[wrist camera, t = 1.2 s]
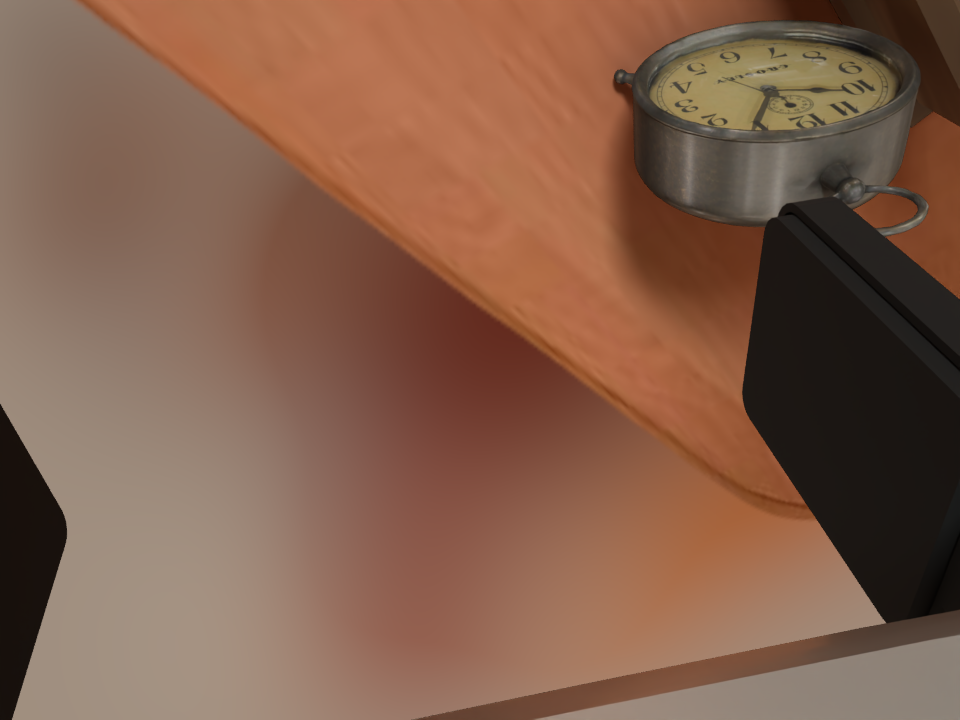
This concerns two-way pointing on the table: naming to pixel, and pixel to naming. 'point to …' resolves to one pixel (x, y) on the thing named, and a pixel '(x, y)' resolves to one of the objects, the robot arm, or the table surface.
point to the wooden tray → (918, 45)
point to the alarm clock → (773, 119)
